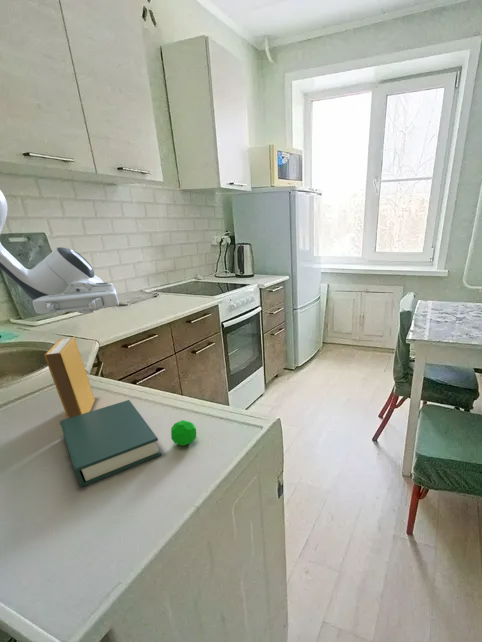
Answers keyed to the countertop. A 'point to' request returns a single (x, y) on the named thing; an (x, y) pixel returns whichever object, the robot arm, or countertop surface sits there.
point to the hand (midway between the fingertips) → (71, 307)
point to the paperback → (70, 377)
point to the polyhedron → (183, 432)
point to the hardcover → (108, 441)
